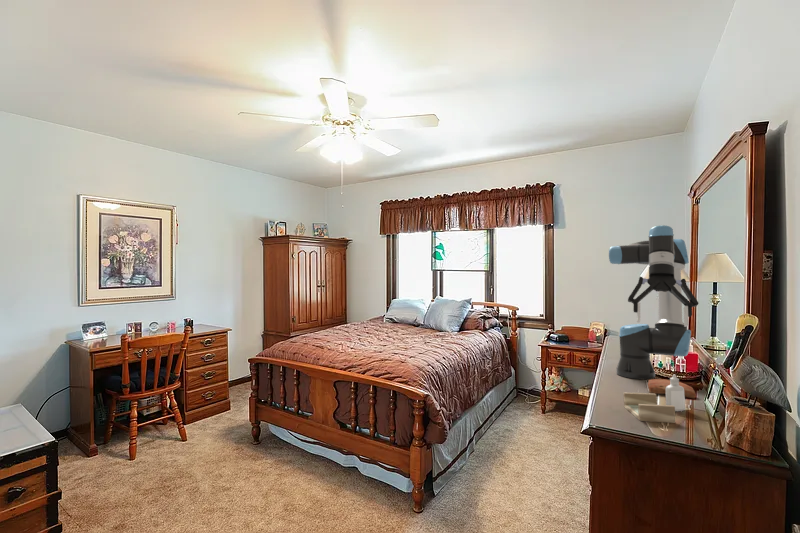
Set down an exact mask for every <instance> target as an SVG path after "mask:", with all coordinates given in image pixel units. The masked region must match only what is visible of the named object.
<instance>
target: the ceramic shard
mask: <svg viewBox="0 0 800 533" xmlns="http://www.w3.org/2000/svg"><path fill="white" fill-rule="evenodd" d="M647 381H648V383H647V386H648V393H653V394H656V395H661V394H662V395H666V387H667V386H668V385H670V379H666V378H665V379H663V378H662V379H661V378H653V379H647ZM679 386H682V387H683V388H684V395H685V398H688V399H689V398H690V399H696V395H697V394H696V391H695V390H694V388H693V387H692V386H690V385H689V384H686V383H683V382H682V381H679Z"/></svg>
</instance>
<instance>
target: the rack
mask: <svg viewBox="0 0 800 533" xmlns="http://www.w3.org/2000/svg"><path fill="white" fill-rule="evenodd" d="M657 399H658V398H657V394H653V393H649V392H648V393H646V392H623V407H624V408H625V409H626V410H627V411H628V412H630V413H631V415H632V416H634V417H635V418H636V419H638V420H639V421H640V422H653V423H670V424H671V423H673V424H674V423H675V424H676V411H675V406H673V405H666V404H658V403H657V402H658V401H657Z"/></svg>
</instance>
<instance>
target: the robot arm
mask: <svg viewBox="0 0 800 533" xmlns="http://www.w3.org/2000/svg"><path fill="white" fill-rule="evenodd" d="M674 235H675V234H674V229H673V227H671V226H669V225H664V224H663V225H662V224H661V225H655V226H653V227H651V228H650V229H649V231H648V240H643V241H642V240H641V241H637V242H633V243H629V244H627V245H612V246H610V247H609V249H608V260H609V263H610V264H611V265H627V264H629V265H631V264H637V265H647V266H649V267H648V278H644V277H643V276H639V278H638V282H637V284H636V286H635V287H634V288H633V290H632V291H631V293H630V294H629V297H628V298H627V302H628V303H632V305H633V310H632V311H633V313H636V322H637V323H633V324H632V323H631V324H625V325H622V326H620V328H619V335H618V336H619V350H620V351H619V355H620V357H619V359H618V363H617V367H616V375H619V376H620V377H625V378H629V379H635V380H651V379H656V371H655V369H654V367H653V364H652V361H651V359H650V358H651V356H650V355H658V356H659V355H662V356H673V357H687V356H688V354H689V351H690V345H691V336H692V330H690V329H688V326H689V318H691V317H692V315H693V308H695V307H698V305H699V301H698V299H697V298H696V297H695V295H694V294H693V292H692V291H691V289H690V288H689V286H688V285H687V281H686V278H682V273H681V272H682V270H684V269H685V267H686V264H689V256H688V250H687V246H686V243H685V240H684V239H682V238H674ZM646 283H647V284H648V285H649V286H647V288H646V289H645V290H644V291H642V292H641V293H639V295H638V296H637V297H636V295H637V294H638V292H639V291H640V289H641V287H642V285H645V284H646ZM652 291H655V292H658V321H657V322H655V323H654V327H650V325H649V324H647V323H640V322H641V302H640V301H642V300H643V299H644V298H645V297H647V296H648V295H649V294H650V293H652ZM682 291H683V292H682ZM682 293H684V295H685V296H686V297H685V296H684V295H683V294H682ZM635 297H636V298H635ZM682 306H684V307H682Z"/></svg>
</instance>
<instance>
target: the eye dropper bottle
mask: <svg viewBox="0 0 800 533" xmlns="http://www.w3.org/2000/svg"><path fill="white" fill-rule="evenodd" d="M676 375H677V374H673V375H672V377H670V378H669V380H670V385H668V386H667V387H666V394H665V405H673V406H675V412H683V411H685V410H686V403H685V402H686V397H685V395H684V388H683V387H682V386H679V382H680V379H679V378H678V377H677V376H676Z"/></svg>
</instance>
